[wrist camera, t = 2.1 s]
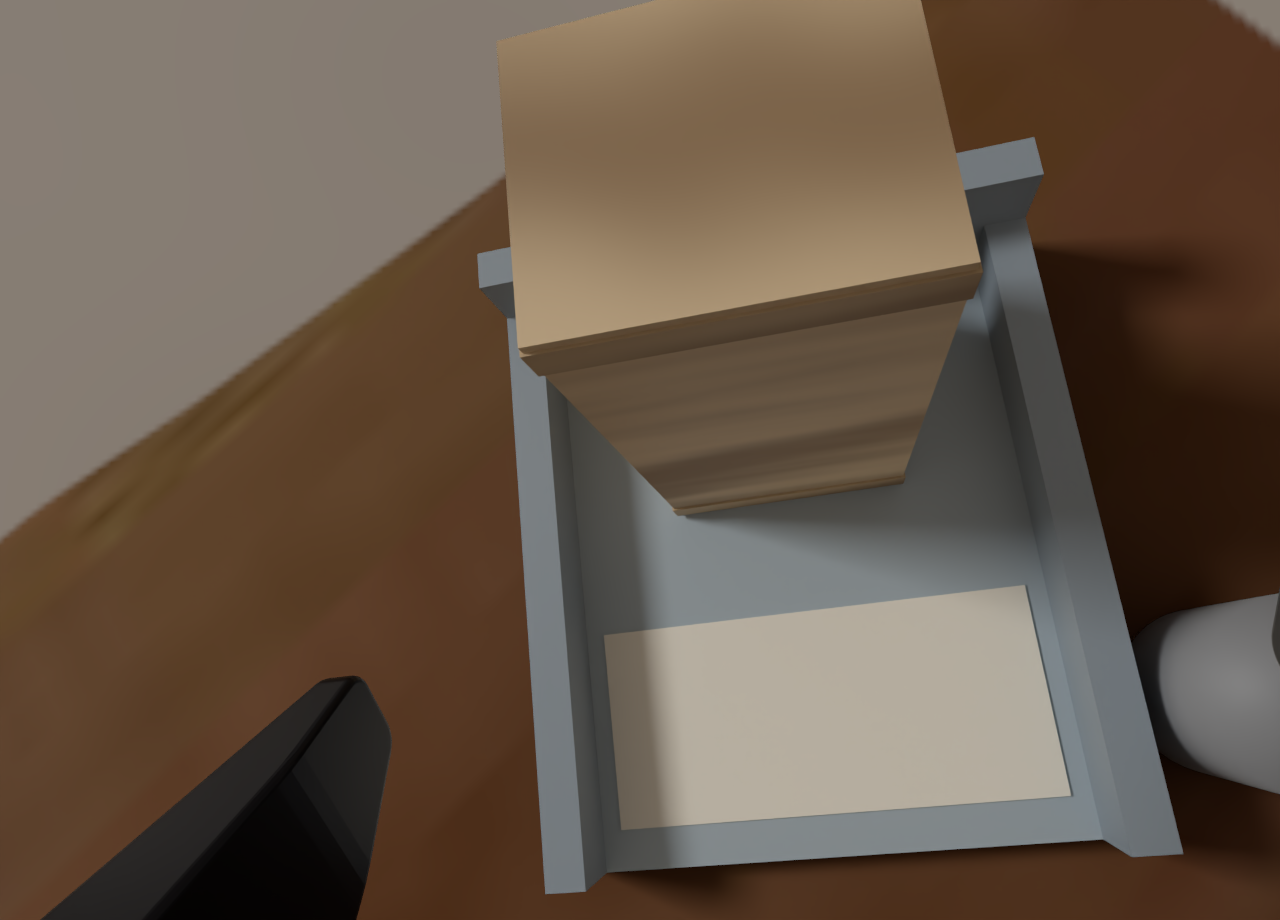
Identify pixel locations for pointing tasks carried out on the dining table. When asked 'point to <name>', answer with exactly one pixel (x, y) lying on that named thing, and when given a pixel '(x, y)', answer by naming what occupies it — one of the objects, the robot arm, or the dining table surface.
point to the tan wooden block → (738, 238)
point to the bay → (869, 629)
